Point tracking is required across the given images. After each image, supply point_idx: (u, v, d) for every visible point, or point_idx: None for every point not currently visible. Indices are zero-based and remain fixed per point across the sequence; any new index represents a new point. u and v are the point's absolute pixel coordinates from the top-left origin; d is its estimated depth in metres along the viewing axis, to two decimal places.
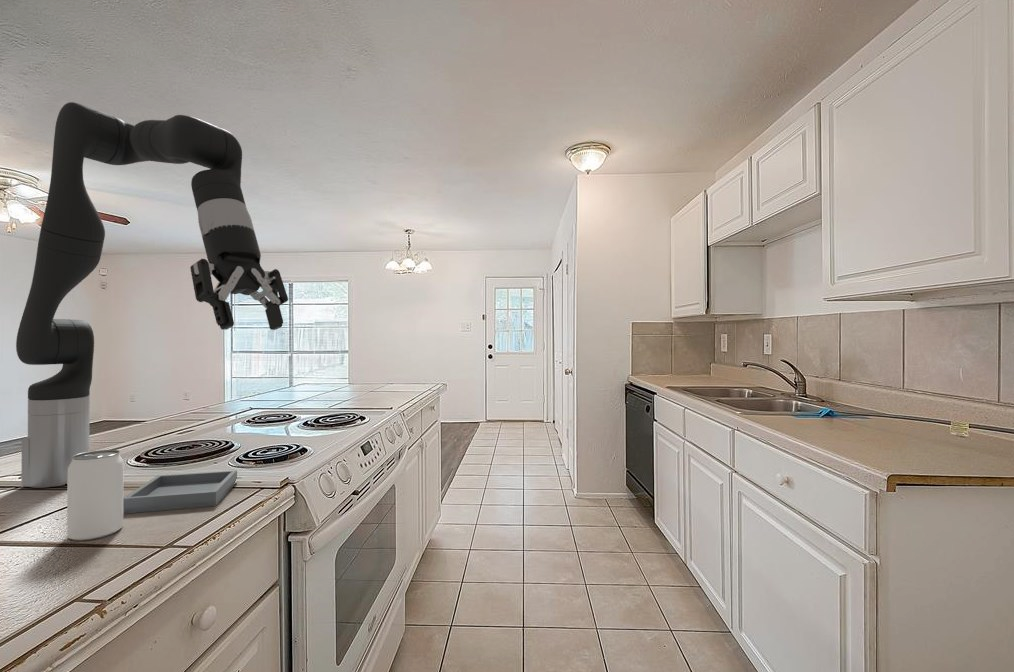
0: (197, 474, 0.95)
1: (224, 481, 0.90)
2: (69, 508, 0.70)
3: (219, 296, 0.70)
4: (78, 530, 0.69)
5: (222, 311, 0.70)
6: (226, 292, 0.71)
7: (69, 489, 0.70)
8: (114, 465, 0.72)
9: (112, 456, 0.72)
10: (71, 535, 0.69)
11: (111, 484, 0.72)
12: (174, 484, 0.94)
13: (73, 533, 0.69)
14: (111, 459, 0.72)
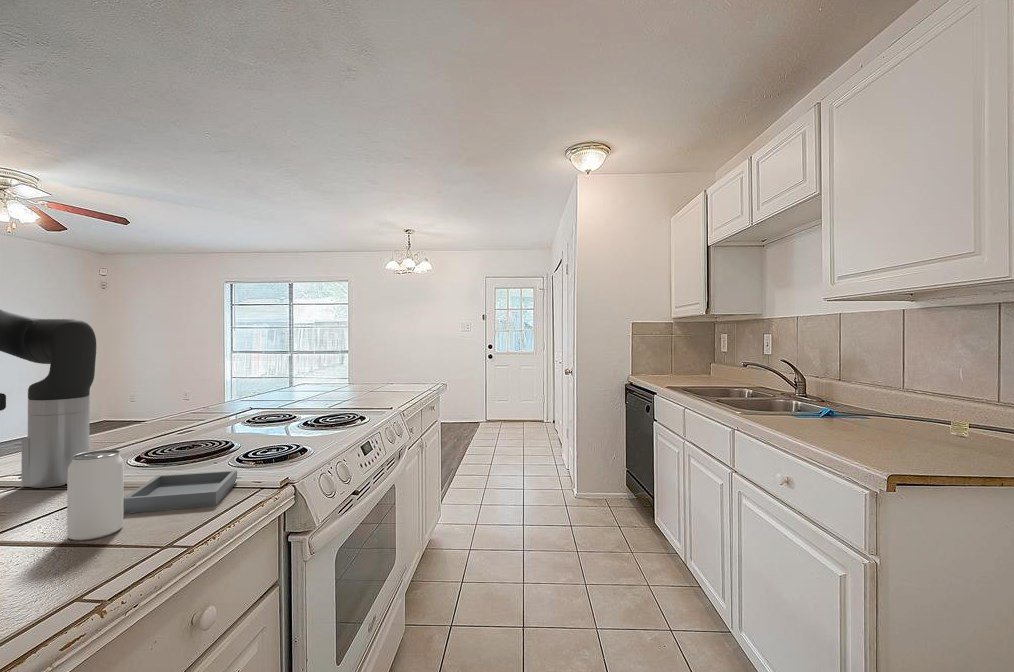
0: (197, 474, 0.95)
1: (224, 481, 0.90)
2: (69, 508, 0.70)
3: None
4: (78, 530, 0.69)
5: None
6: None
7: (69, 489, 0.70)
8: (114, 465, 0.72)
9: (112, 456, 0.72)
10: (71, 535, 0.69)
11: (111, 484, 0.72)
12: (174, 484, 0.94)
13: (73, 533, 0.69)
14: (110, 459, 0.72)
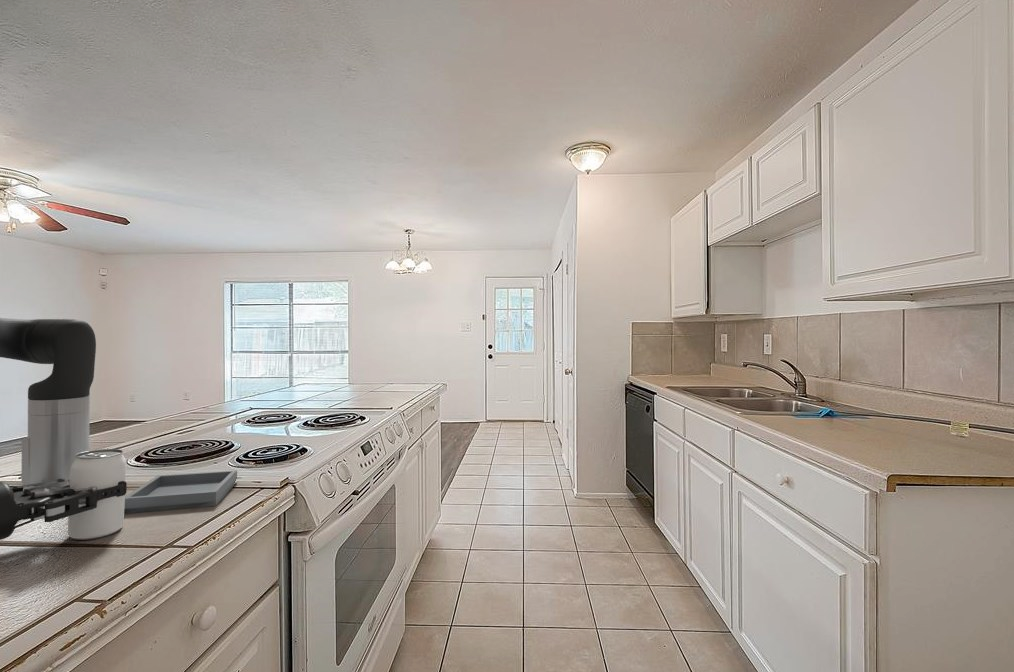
0: (197, 474, 0.95)
1: (224, 481, 0.90)
2: None
3: None
4: (79, 529, 0.69)
5: None
6: None
7: None
8: (117, 464, 0.72)
9: (115, 456, 0.72)
10: (71, 533, 0.69)
11: (114, 484, 0.72)
12: (174, 484, 0.94)
13: (74, 532, 0.69)
14: (114, 459, 0.72)
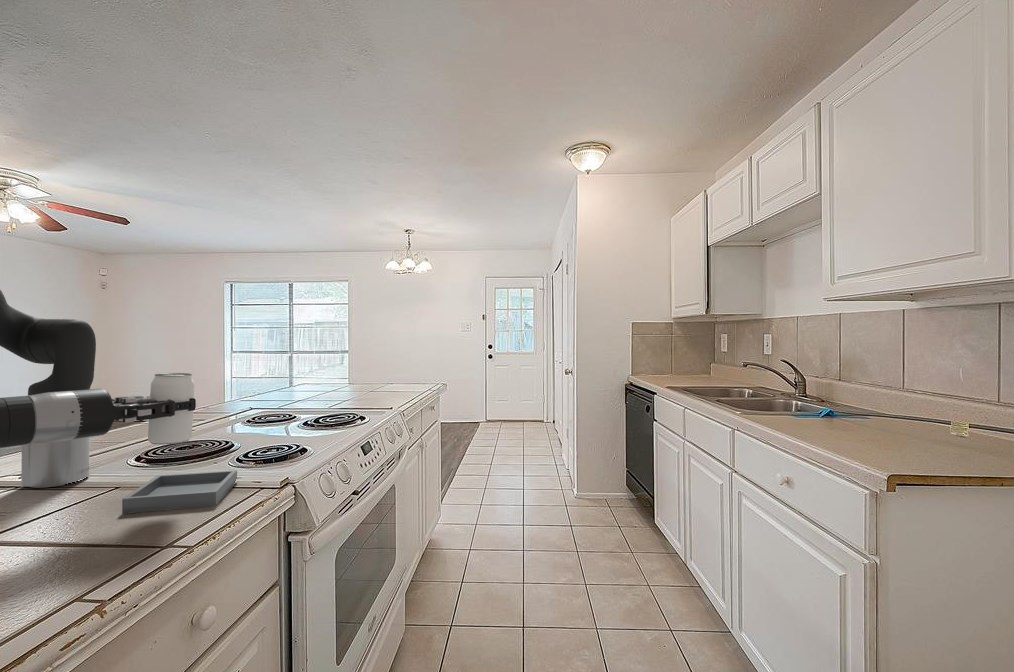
0: (197, 474, 0.95)
1: (224, 481, 0.90)
2: None
3: None
4: (158, 435, 0.82)
5: None
6: None
7: None
8: (188, 383, 0.85)
9: (187, 376, 0.85)
10: (152, 438, 0.82)
11: (186, 399, 0.85)
12: (174, 484, 0.94)
13: (154, 437, 0.82)
14: (186, 378, 0.85)
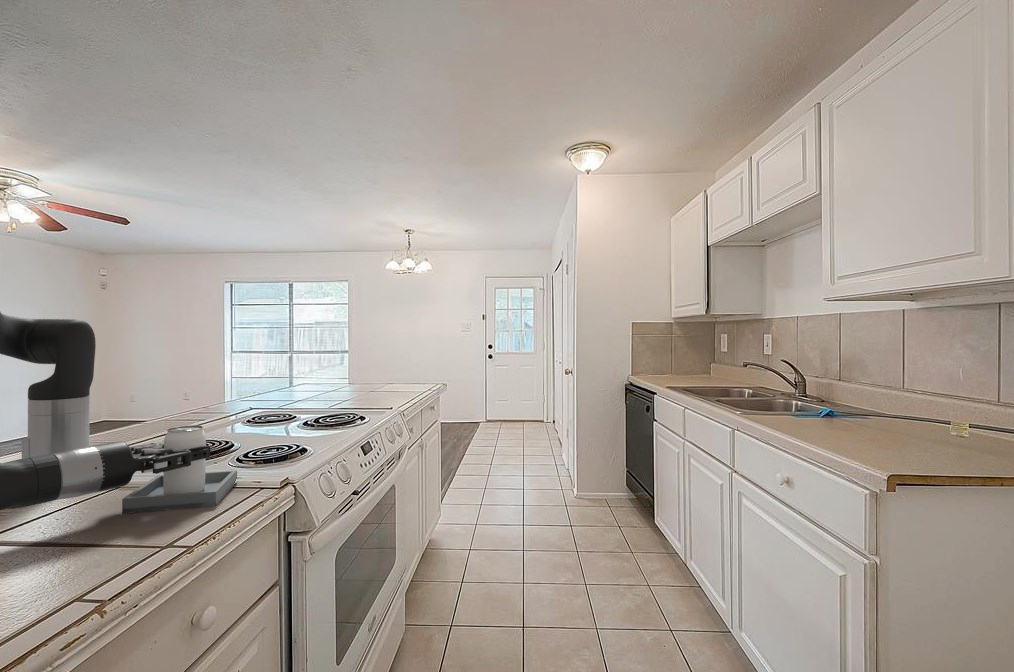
0: None
1: (224, 481, 0.90)
2: (165, 471, 0.86)
3: None
4: (173, 489, 0.85)
5: None
6: None
7: None
8: (200, 437, 0.88)
9: (198, 430, 0.88)
10: (167, 492, 0.86)
11: None
12: None
13: (169, 491, 0.85)
14: (197, 432, 0.88)
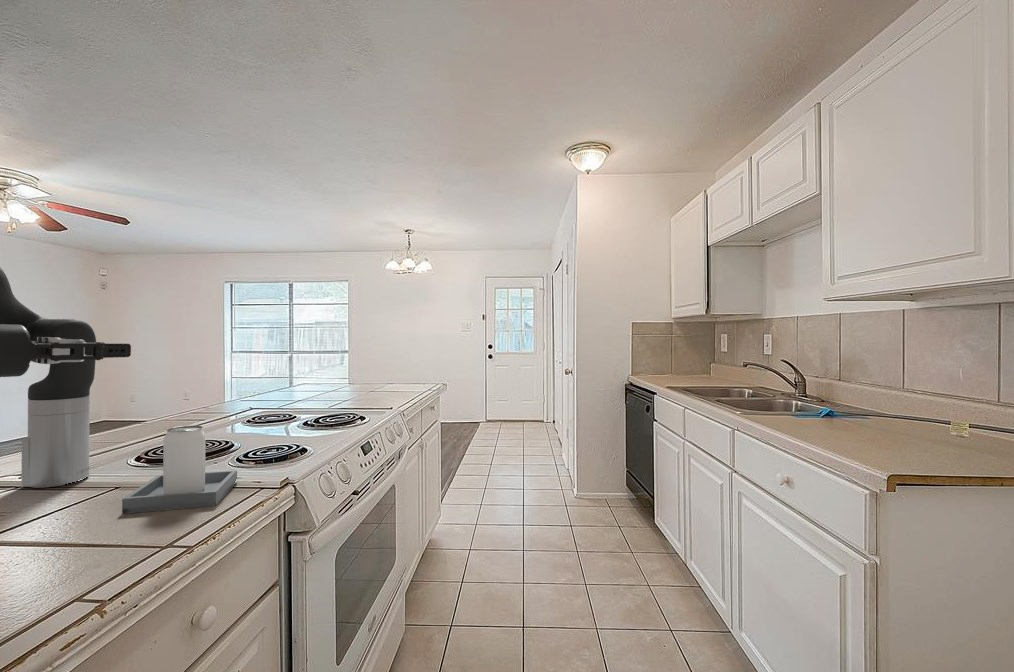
0: None
1: (224, 481, 0.90)
2: (165, 471, 0.86)
3: None
4: (173, 489, 0.85)
5: None
6: None
7: (165, 456, 0.86)
8: (200, 437, 0.88)
9: (198, 430, 0.88)
10: (167, 493, 0.86)
11: (198, 452, 0.88)
12: None
13: (169, 491, 0.86)
14: (197, 432, 0.88)
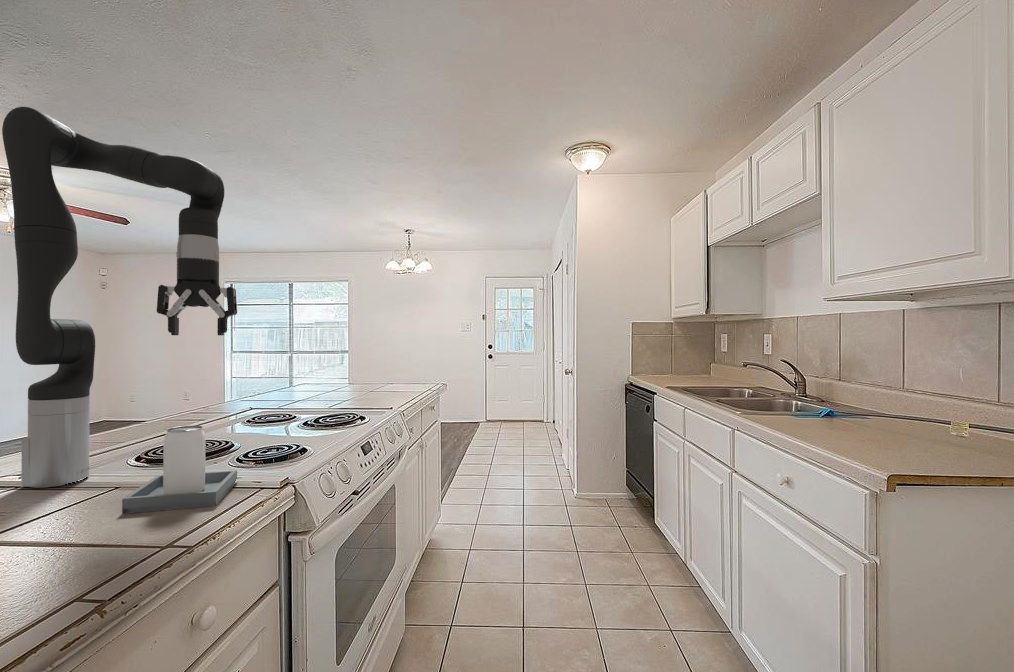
0: None
1: (224, 481, 0.90)
2: (165, 471, 0.86)
3: (167, 313, 0.98)
4: (173, 489, 0.85)
5: (169, 324, 0.99)
6: (174, 310, 0.99)
7: (165, 456, 0.86)
8: (200, 437, 0.88)
9: (198, 430, 0.88)
10: (167, 493, 0.86)
11: (198, 452, 0.88)
12: None
13: (169, 491, 0.85)
14: (197, 432, 0.88)
